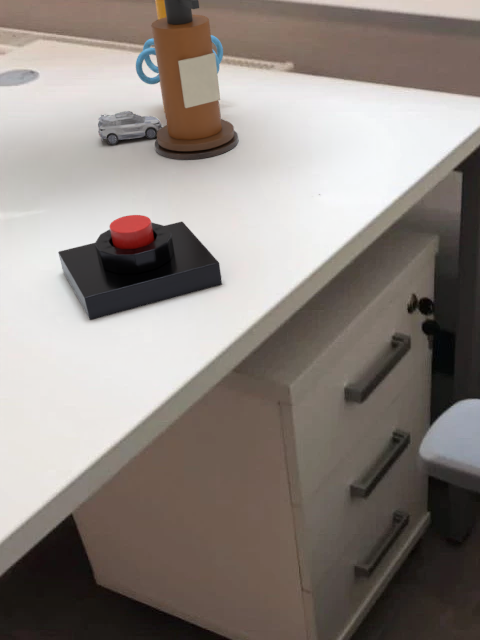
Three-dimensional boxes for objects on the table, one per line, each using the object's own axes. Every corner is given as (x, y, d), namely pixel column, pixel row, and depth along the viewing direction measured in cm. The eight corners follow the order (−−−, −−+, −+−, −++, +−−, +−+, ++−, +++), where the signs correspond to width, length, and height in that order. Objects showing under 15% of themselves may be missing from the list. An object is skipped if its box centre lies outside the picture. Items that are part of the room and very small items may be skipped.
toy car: (166, 137, 109) (162, 112, 107) (101, 147, 107) (96, 122, 105) (162, 127, 111) (158, 103, 110) (99, 137, 110) (94, 112, 108)
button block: (90, 321, 75) (79, 278, 72) (63, 273, 82) (53, 232, 79) (222, 285, 78) (216, 243, 76) (185, 242, 85) (179, 202, 83)
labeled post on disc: (145, 136, 107) (114, -43, 95) (212, 118, 111) (191, -56, 98) (178, 157, 101) (149, -31, 89) (248, 138, 104) (230, -46, 92)
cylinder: (224, 125, 111) (209, -7, 101) (142, 130, 111) (119, -1, 102) (230, 94, 120) (216, -29, 111) (154, 99, 121) (134, -23, 111)
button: (119, 255, 76) (115, 236, 75) (108, 239, 78) (104, 220, 77) (159, 245, 77) (156, 226, 76) (147, 229, 79) (144, 211, 78)
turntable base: (170, 166, 101) (169, 160, 101) (145, 140, 108) (144, 135, 108) (251, 148, 104) (250, 142, 104) (221, 124, 111) (220, 119, 111)
